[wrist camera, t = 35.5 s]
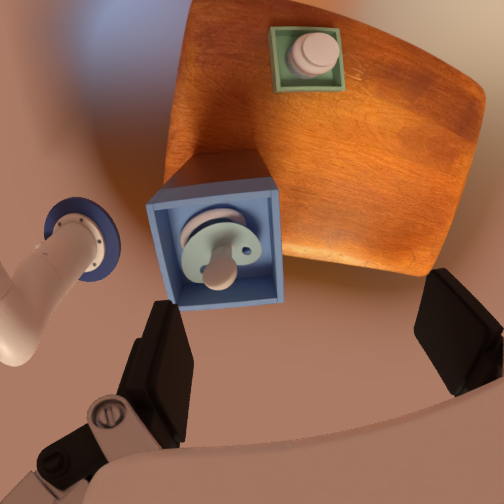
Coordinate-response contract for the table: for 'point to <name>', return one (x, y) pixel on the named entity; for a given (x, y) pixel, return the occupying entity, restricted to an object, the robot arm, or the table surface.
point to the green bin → (286, 82)
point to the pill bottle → (312, 55)
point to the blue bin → (219, 196)
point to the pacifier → (217, 248)
